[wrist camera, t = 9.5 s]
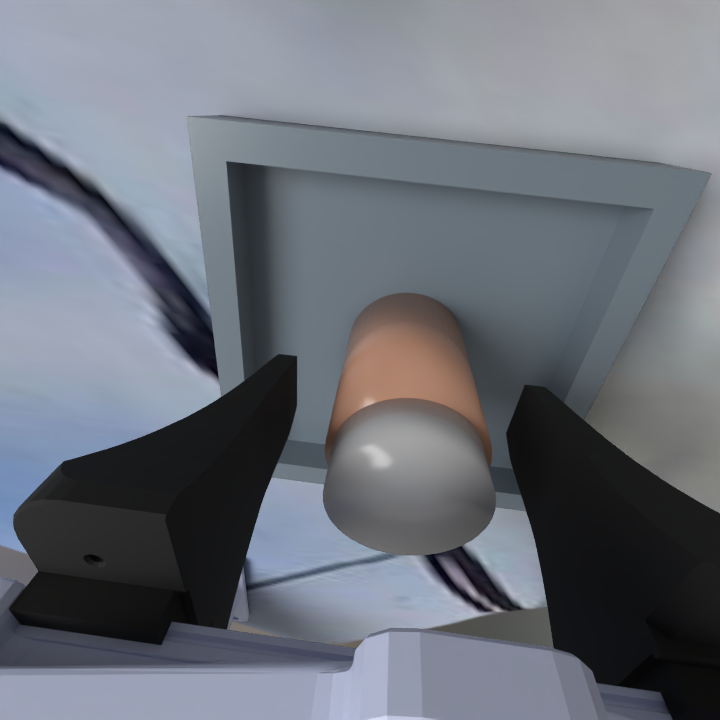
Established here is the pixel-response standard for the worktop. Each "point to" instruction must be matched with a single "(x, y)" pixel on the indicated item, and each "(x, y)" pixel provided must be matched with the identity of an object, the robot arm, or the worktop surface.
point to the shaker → (408, 433)
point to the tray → (426, 259)
